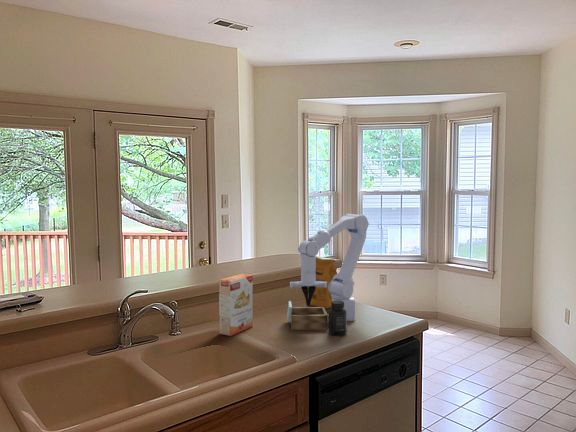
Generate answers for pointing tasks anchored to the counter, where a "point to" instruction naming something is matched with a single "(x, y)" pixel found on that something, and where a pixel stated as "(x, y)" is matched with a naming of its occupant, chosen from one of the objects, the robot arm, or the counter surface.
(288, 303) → the panel
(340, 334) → the supplement bottle
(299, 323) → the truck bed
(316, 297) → the coffee package
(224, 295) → the cracker box
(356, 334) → the counter surface
